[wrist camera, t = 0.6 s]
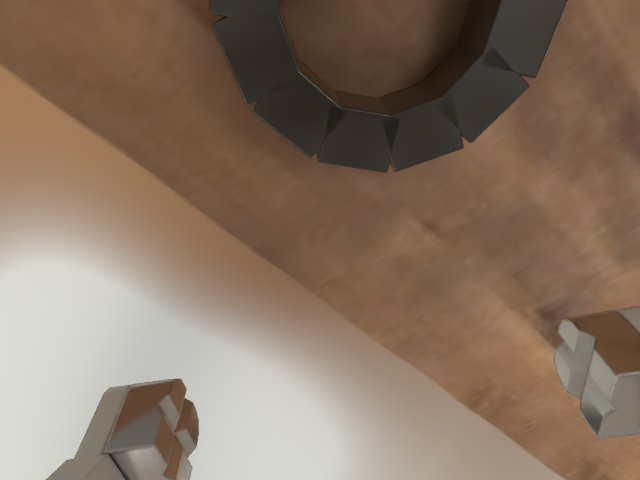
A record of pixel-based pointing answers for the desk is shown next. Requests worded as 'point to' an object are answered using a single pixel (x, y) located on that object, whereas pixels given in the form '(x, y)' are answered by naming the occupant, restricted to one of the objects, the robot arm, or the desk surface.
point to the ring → (396, 108)
